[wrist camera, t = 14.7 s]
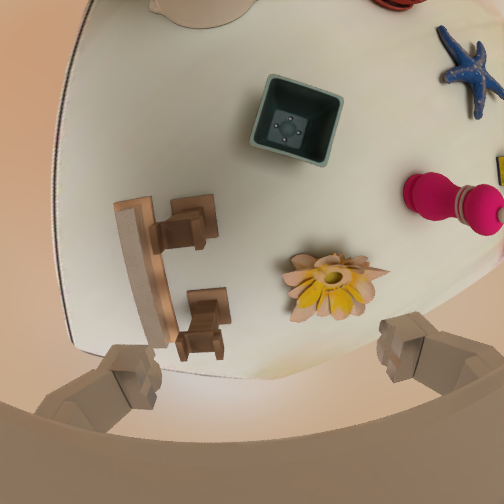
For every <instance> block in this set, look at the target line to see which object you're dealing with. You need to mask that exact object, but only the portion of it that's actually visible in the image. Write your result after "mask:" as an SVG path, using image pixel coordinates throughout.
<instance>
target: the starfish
mask: <svg viewBox="0 0 504 504" xmlns="http://www.w3.org/2000/svg"><path fill="white" fill-rule="evenodd" d="M437 30H438V32H439V34H440V38H441V39H442V41H443V43H444V44H445V46H446V48H447V49H448V51H449V52H450V54H451V55H452V56H453V58H454V59H455V60H456V62H457V64H458V67H454V68H452V69H450V70H448V71H447V72H446V74H445V75H444V76H443V79H444V81H445V82H446V83H449V84H450V83H453V82H455V81H462V82H467V83H468V84H469V85H470V87H471V90H472V94H473V97H474V104H475V110H474V117H475V119H477V120H479V119H480V118H482V115H483V114H482V112H483V108H484V103H485V99H486V88H488V89H490V90H492V91H493V92H494V93H496V94H497V95H498V96H499V97H500V98H501V99H503V100H504V89H503V88H502V87H501V86H500V84H499V83H498V82H497V81H496V80H495V79H494V78H493V77H491V76H490V75H489V74H488V72H487V71H486V69H485V63H486V51H485V49H484V46H483V44H482V43H481V42H480V41H478V42H477V51H476V54H475V56H474V58H472V57H471V56H469V55H468V53H467V52H466V51H465V50H464V49H463V48H462V47H461V46H460V45H459V44H458V43H457V42H456V41H455V40H454V39H453V38H452V37H451V36H450V35H449V33H448V32H447V29H446V28H445V27H444V26H442V25H441V26H439V27H438V29H437Z"/></svg>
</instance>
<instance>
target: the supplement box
mask: <svg viewBox="0 0 504 504" xmlns="http://www.w3.org/2000/svg"><path fill="white" fill-rule="evenodd" d="M496 159H497V167H498V176H499V185H501V186H504V156H502V157H496Z"/></svg>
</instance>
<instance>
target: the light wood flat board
mask: <svg viewBox="0 0 504 504" xmlns="http://www.w3.org/2000/svg"><path fill="white" fill-rule="evenodd" d="M141 205H142V212H143V218H144V223H145V229H146V234H147V240H148V245H149V250H150V255H151V260H152V264H153V269H154V273H155V278H156V282H157V286H158V290H159V295H160V299H161V303H162V306H163V310H164V314H165V318H166V321H167V325H168V329H169V332H170V336H171V339H170V342H175V341H176V338H177V336H178V333H179V328H178V325H177V321H176V317H175V313H174V309H173V305H172V301H171V296H170V292H169V288H168V283H167V279H166V274H165V269H164V265H163V260H162V255H161V254H158V255H153V251H152V246H151V240H150V235H149V230H148V227H149V226H151V225H152V224H154V223H156V222H155V216H154V210H153V204H152V197H151V196H149V197H144V198H138V199H133V200H127V201H122V202H117V203H114V209H115V212H116V211H118V210H121V209H124V208H129V207H135V206H141ZM170 342H169V343H170Z"/></svg>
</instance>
